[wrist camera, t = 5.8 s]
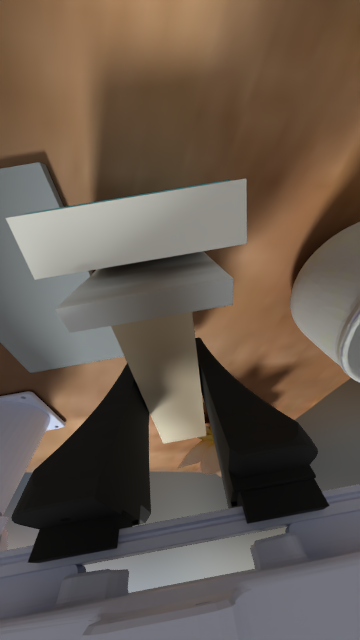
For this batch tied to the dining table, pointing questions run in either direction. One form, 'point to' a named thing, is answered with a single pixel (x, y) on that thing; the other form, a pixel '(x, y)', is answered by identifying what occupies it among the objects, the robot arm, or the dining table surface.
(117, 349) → the mat
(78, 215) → the tile
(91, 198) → the dining table surface
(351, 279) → the teacup
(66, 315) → the pusher
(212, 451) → the decorative flower
